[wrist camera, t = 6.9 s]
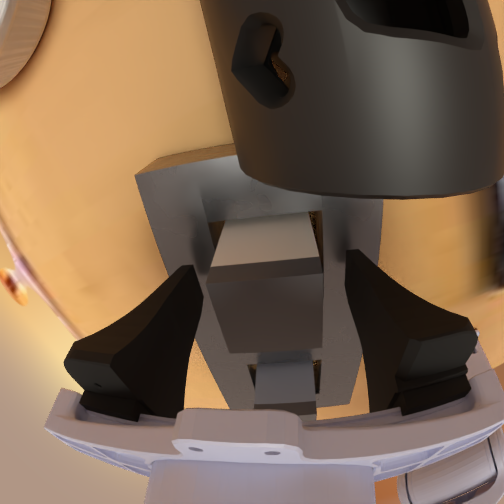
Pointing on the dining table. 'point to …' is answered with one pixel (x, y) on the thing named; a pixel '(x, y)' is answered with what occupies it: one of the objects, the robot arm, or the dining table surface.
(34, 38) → the ramekin
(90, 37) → the dining table surface
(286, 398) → the twin plug
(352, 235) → the block
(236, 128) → the muzzle brake
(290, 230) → the plug
